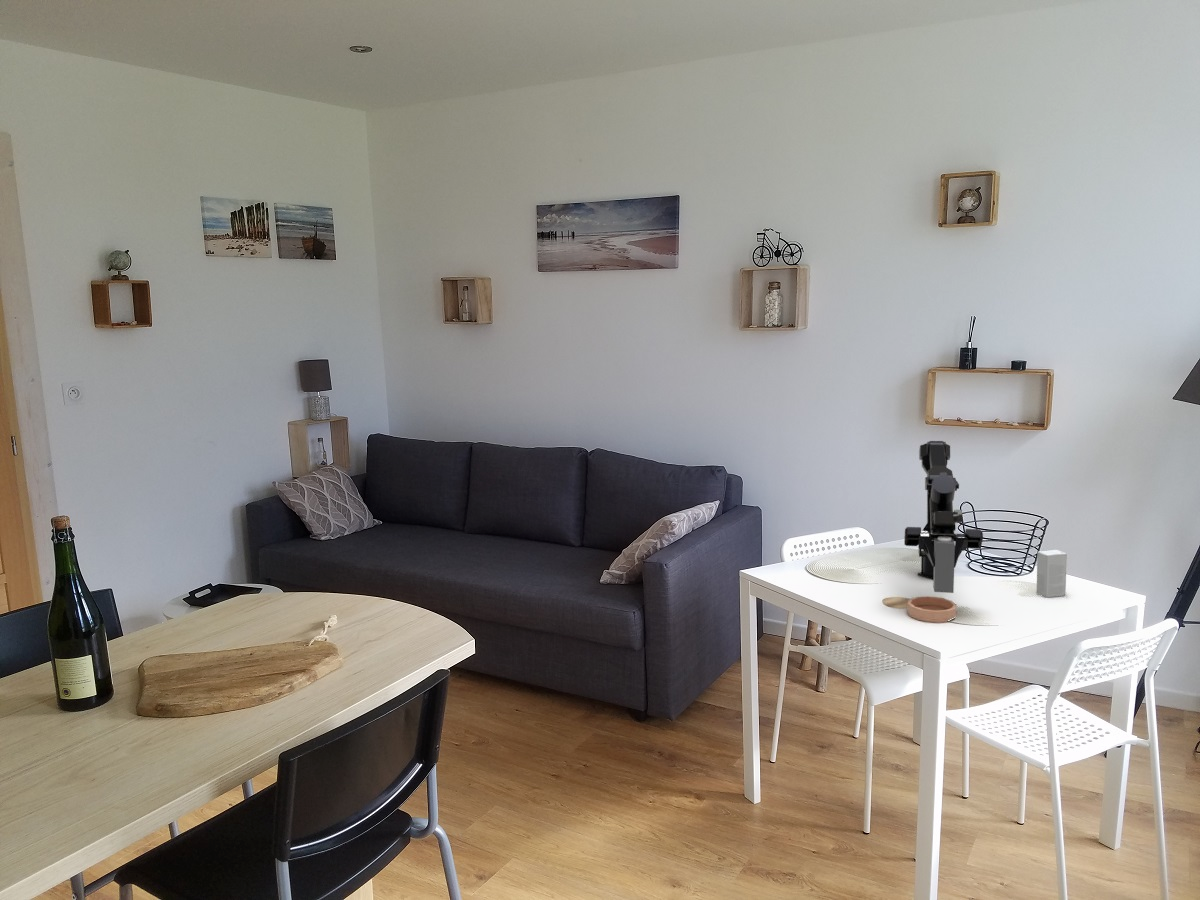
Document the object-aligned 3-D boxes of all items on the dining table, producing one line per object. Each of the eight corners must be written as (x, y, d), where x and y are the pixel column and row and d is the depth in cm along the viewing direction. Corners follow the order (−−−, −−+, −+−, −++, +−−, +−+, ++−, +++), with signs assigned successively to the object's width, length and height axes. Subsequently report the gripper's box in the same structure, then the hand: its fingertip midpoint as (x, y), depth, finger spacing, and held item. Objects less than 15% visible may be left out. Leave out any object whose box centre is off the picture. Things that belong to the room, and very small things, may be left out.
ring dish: (898, 613, 224) (898, 602, 224) (927, 604, 230) (927, 593, 230) (936, 626, 214) (936, 614, 214) (965, 616, 220) (965, 605, 220)
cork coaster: (876, 605, 232) (876, 603, 232) (891, 596, 239) (891, 594, 238) (908, 612, 226) (908, 610, 226) (922, 603, 232) (922, 601, 232)
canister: (933, 586, 223) (934, 535, 221) (951, 587, 222) (953, 535, 220) (934, 591, 219) (935, 539, 217) (953, 592, 218) (954, 540, 216)
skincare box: (1055, 591, 237) (1056, 549, 235) (1065, 596, 233) (1067, 553, 231) (1035, 593, 236) (1036, 551, 234) (1045, 598, 232) (1047, 555, 230)
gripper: (905, 496, 224) (906, 549, 215) (983, 498, 218) (987, 552, 209) (903, 519, 232) (904, 570, 224) (978, 521, 227) (982, 574, 218)
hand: (944, 566), depth 218 cm, fingers closed on canister, 4 cm apart
